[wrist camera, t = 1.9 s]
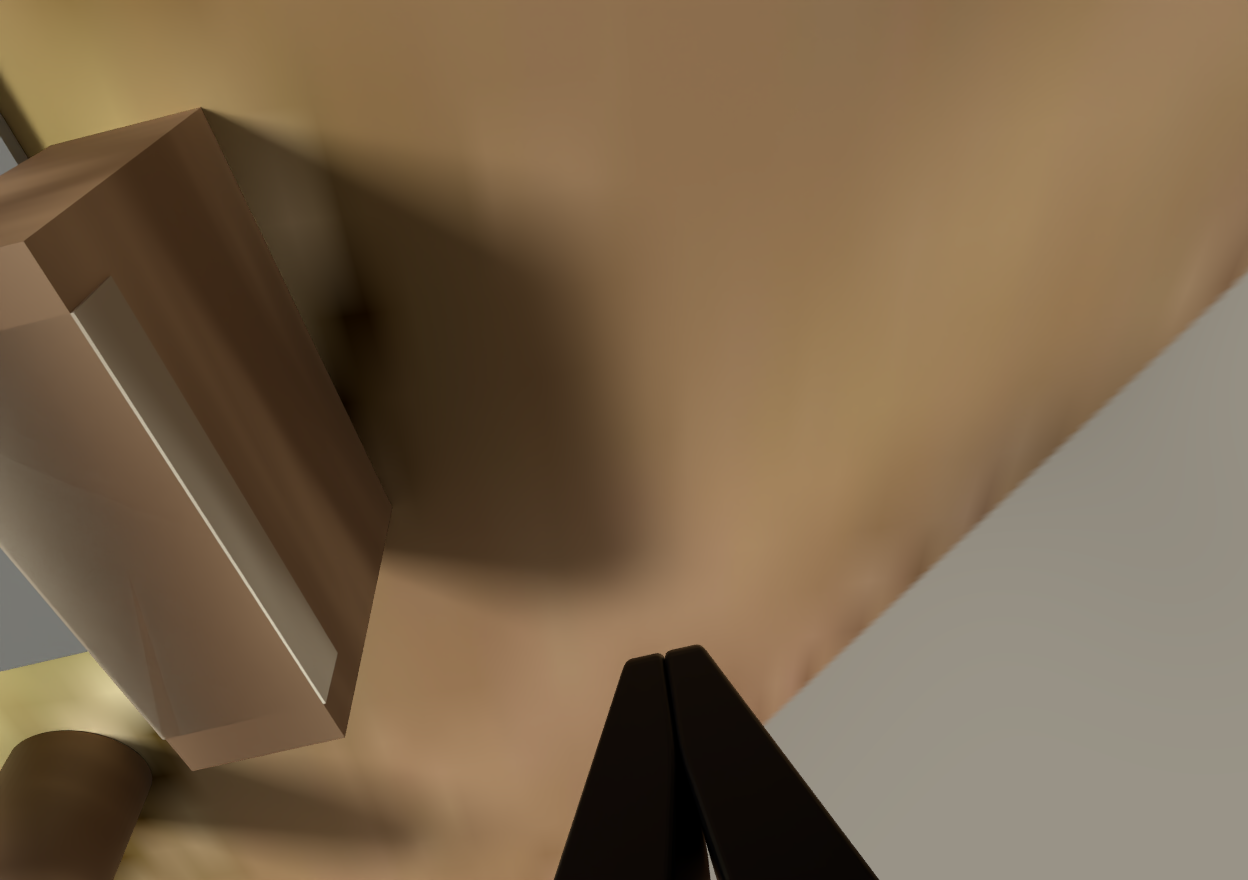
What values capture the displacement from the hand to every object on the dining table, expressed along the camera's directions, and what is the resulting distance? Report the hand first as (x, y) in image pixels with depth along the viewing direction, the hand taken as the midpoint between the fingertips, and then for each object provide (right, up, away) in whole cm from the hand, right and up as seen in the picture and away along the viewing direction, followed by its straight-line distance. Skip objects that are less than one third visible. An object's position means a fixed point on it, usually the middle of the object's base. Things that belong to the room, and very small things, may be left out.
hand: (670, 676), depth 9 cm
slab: (-9, +4, +10) cm, 14 cm away
